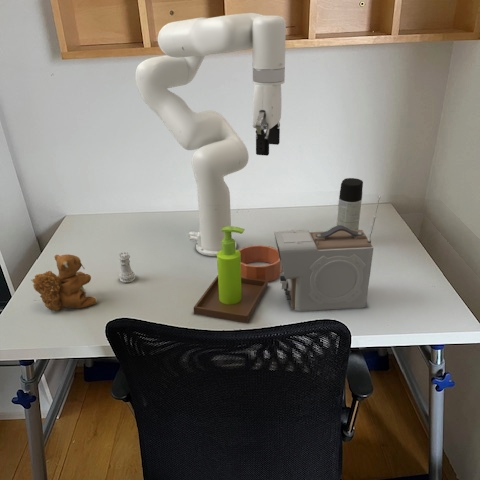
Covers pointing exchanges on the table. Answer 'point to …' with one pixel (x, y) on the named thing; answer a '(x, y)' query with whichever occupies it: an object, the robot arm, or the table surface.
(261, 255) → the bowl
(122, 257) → the rook chess piece
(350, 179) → the spray can
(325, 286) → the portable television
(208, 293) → the tray
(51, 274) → the stuffed squirrel
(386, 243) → the table surface
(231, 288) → the soap dispenser
